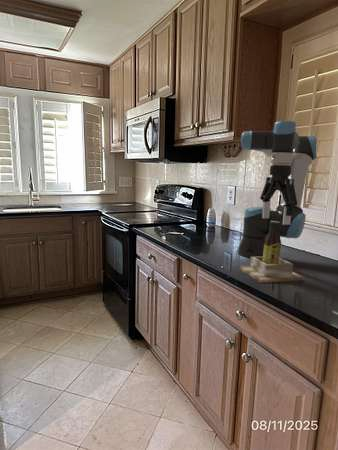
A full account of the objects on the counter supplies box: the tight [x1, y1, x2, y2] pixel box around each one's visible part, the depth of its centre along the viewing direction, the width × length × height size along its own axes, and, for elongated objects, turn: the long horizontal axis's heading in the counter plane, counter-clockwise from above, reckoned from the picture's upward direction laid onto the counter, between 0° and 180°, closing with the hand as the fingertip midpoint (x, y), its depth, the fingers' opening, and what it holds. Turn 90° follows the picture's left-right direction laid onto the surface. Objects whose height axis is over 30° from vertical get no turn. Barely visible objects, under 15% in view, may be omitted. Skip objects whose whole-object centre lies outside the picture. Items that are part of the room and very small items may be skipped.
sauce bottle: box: [262, 221, 282, 264], centre depth 123 cm, size 6×6×20 cm
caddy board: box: [239, 256, 304, 284], centre depth 124 cm, size 16×18×6 cm
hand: (275, 221), depth 121 cm, fingers open, 13 cm apart
